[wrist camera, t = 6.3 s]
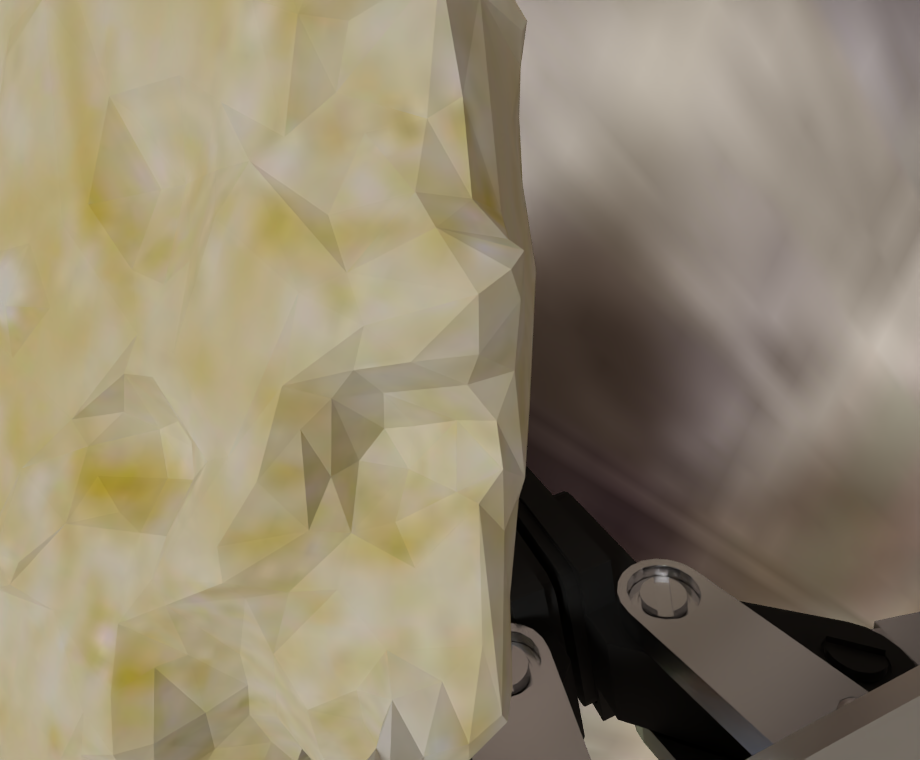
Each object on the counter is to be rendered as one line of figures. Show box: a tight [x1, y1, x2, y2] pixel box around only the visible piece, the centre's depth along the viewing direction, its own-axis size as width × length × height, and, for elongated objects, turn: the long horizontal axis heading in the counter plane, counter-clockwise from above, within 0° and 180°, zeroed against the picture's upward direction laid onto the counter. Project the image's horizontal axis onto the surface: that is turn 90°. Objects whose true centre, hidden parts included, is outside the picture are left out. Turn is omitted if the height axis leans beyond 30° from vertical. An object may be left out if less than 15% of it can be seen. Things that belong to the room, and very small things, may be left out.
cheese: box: [0, 0, 536, 760], centre depth 8 cm, size 15×7×15 cm
